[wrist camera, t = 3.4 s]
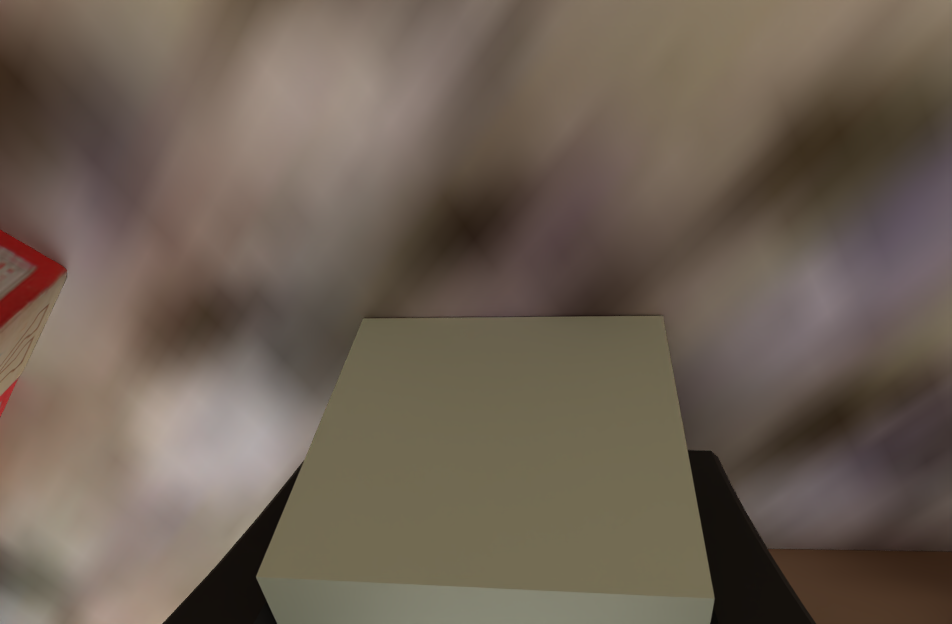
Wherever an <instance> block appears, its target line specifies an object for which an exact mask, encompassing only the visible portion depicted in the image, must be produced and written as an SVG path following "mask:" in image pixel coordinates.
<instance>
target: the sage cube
mask: <svg viewBox="0 0 952 624" xmlns="http://www.w3.org/2000/svg"><path fill="white" fill-rule="evenodd" d="M256 578H257V581H258V583H259V585H260V587H261V589H262V592H263V594H264V596H265V598H266V600H267V602H268V605H269V607H270V609H271V611H272V613H273V616H274V618H275V620H276V622H277V624H710V622H711V616H712V611H713V605H714V600H715V598H714V592H713V587H712V581H711V576H710V570H709V565H708V559H707V554H706V548H705V543H704V538H703V532H702V527H701V521H700V516H699V510H698V505H697V499H696V494H695V488H694V483H693V477H692V472H691V466H690V461H689V455H688V450H687V445H686V439H685V434H684V428H683V423H682V417H681V412H680V406H679V401H678V395H677V390H676V384H675V379H674V373H673V368H672V363H671V357H670V352H669V346H668V341H667V335H666V330H665V324H664V319H663V316H577V317H470V318H364V319H363V320H362V323H361V325H360V328H359V330H358V332H357V335H356V337H355V340H354V342H353V344H352V347H351V349H350V352H349V354H348V356H347V359H346V361H345V364H344V366H343V368H342V371H341V373H340V376H339V378H338V380H337V383H336V385H335V388H334V390H333V393H332V395H331V397H330V400H329V402H328V405H327V407H326V409H325V412H324V414H323V417H322V419H321V421H320V424H319V426H318V429H317V431H316V433H315V436H314V438H313V441H312V443H311V445H310V448H309V450H308V453H307V455H306V458H305V460H304V462H303V465H302V467H301V470H300V472H299V474H298V477H297V479H296V482H295V484H294V486H293V489H292V491H291V494H290V496H289V498H288V501H287V503H286V506H285V508H284V510H283V513H282V515H281V518H280V520H279V523H278V525H277V527H276V530H275V532H274V535H273V537H272V539H271V542H270V544H269V547H268V549H267V551H266V554H265V556H264V559H263V561H262V563H261V566H260V568H259V571H258V573H257V576H256Z"/></svg>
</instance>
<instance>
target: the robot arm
mask: <svg viewBox="0 0 952 624" xmlns="http://www.w3.org/2000/svg"><path fill="white" fill-rule="evenodd" d="M688 455H689V461H690V466H691V472H692V477H693V483H694V488H695V494H696V499H697V505H698V510H699V516H700V521H701V527H702V532H703V538H704V543H705V548H706V554H707V559H708V565H709V570H710V576H711V581H712V587H713V592H714V598H715V600H714V605H713V611H712V616H711V622H710V624H816V623H815V621H814V620H813V618H812V617H811V615H810V614H809V612H808V611H807V609H806V608H805V606H804V605H803V604H802V602H801V601H800V599H799V597H798V596H797V594H796V593H795V591H794V590H793V588H792V587H791V585H790V583H789V582H788V580H787V579H786V577H785V576H784V574H783V573H782V571H781V569H780V568H779V566H778V565H777V563H776V562H775V560H774V559H773V557H772V555H771V554H770V552H769V550H768V549H767V547H766V545H765V544H764V542H763V541H762V539H761V537H760V536H759V534H758V532H757V530H756V529H755V527H754V525H753V523H752V522H751V520H750V518H749V516H748V515H747V513H746V511H745V509H744V508H743V506H742V504H741V502H740V500H739V498H738V497H737V495H736V493H735V491H734V489H733V487H732V485H731V483H730V481H729V479H728V477H727V475H726V473H725V471H724V469H723V467H722V465H721V463H720V461H719V458H718V457H717V456H716V455H715V454H714V453H713V452H712V451H694V450H688ZM303 462H304V461H303ZM303 462H302V463H301V465H300V466H299V467H298V468H297V470H296V471H295V472H294V473H293V475H292V476H291V477H290V478H289V480H288V481H287V482H286V483H285V485H284V486H283V487H282V488H281V490H280V491H279V492H278V493H277V495H276V496H275V497H274V498H273V500H272V501H271V502H270V503H269V504H268V506H267V507H266V508H265V509H264V510H263V512H262V513H261V514H260V515H259V517H258V518H257V519H256V520H255V521H254V523H253V524H252V525H251V526H250V527H249V528H248V530H247V531H246V532H245V533H244V534H243V535H242V537H241V538H240V539H239V540H238V541H237V542H236V544H235V545H234V546H233V547H232V548H231V549H230V551H229V552H228V553H227V554H226V555H225V556H224V558H223V559H222V560H221V561H220V562H219V563H218V564H217V566H216V567H215V568H214V569H213V570H212V571H211V572H210V573H209V574H208V576H207V577H206V578H205V579H204V580H203V581H202V582H201V583H200V584H199V585H198V586H197V587H196V588H195V589H194V591H193V592H192V593H191V594H190V595H189V596H188V597H187V598H186V599H185V600H184V601H183V602H182V603H181V605H180V606H179V607H178V608H177V609H176V610H175V611H174V612H173V613H172V614H171V615H170V616H169V617H168V618H167V619H166V621H165V622H164V623H163V624H277V622H276V620H275V618H274V616H273V613H272V611H271V609H270V607H269V605H268V602H267V600H266V598H265V596H264V594H263V592H262V589H261V587H260V585H259V583H258V581H257V578H256V576H257V573H258V571H259V568H260V566H261V563H262V561H263V559H264V556H265V554H266V551H267V549H268V547H269V544H270V542H271V539H272V537H273V535H274V532H275V530H276V527H277V525H278V523H279V520H280V518H281V515H282V513H283V510H284V508H285V506H286V503H287V501H288V498H289V496H290V494H291V491H292V489H293V486H294V484H295V482H296V479H297V477H298V474H299V472H300V470H301V467H302V465H303Z"/></svg>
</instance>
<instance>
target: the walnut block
mask: <svg viewBox="0 0 952 624" xmlns="http://www.w3.org/2000/svg"><path fill="white" fill-rule="evenodd" d="M768 550H769V552H770V554H771V555H772V557H773V559H774V560H775V562H776V563H777V565H778V566H779V568H780V569H781V571H782V573H783V574H784V576H785V577H786V579H787V580H788V582H789V583H790V585H791V587H792V588H793V590H794V591H795V593H796V594H797V596H798V597H799V599H800V601H801V602H802V604H803V605H804V606H805V608H806V609H807V611H808V612H809V614H810V615H811V617H812V618H813V620H814V621H815V623H816V624H952V552H943V551H878V550H813V549H768Z"/></svg>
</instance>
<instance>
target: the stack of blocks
mask: <svg viewBox="0 0 952 624" xmlns="http://www.w3.org/2000/svg"><path fill="white" fill-rule="evenodd" d="M66 277H67V270H66V269H65V268H64V267H63V266H61V265H60V264H58V263H57V262H55V261H53V260H52V259H50V258H48V257H46V256H45V255H43V254H41V253H39V252H38V251H36V250H34V249H33V248H31V247H29V246H27V245H26V244H24V243H22V242H20V241H19V240H17V239H15V238H14V237H12V236H10V235H9V234H7V233H5V232H3V231H2V230H0V417H1V414H2V412H3V410H4V408H5V406H6V404H7V402H8V399H9V397H10V395H11V393H12V391H13V388H14V386H15V384H16V382H17V380H18V377H19V376H20V375H21V373H22V372H23V370H24V368H25V366H26V364H27V362H28V360H29V358H30V356H31V353H32V351H33V349H34V347H35V345H36V343H37V341H38V339H39V337H40V334H41V332H42V330H43V328H44V326H45V324H46V322H47V319H48V317H49V315H50V313H51V311H52V309H53V306H54V304H55V302H56V300H57V298H58V296H59V293H60V291H61V289H62V287H63V285H64V283H65V280H66Z"/></svg>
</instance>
